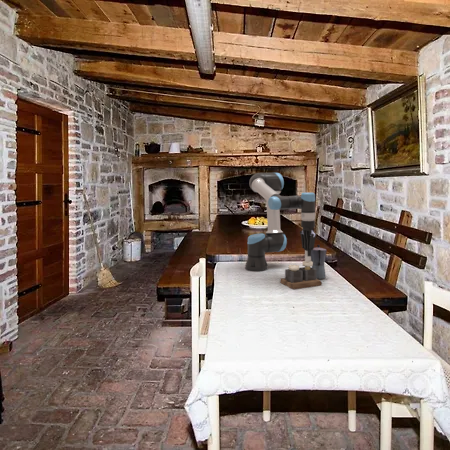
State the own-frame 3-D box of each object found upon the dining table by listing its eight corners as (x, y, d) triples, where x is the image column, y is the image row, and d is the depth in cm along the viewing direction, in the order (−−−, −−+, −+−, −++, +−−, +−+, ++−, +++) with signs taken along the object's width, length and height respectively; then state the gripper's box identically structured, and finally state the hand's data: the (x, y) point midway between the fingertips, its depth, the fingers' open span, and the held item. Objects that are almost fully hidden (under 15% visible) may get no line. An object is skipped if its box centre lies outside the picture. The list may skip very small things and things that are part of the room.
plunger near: (286, 279, 192) (286, 265, 191) (295, 278, 194) (295, 264, 193) (292, 281, 187) (292, 267, 186) (300, 280, 189) (300, 266, 188)
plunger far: (300, 275, 195) (300, 261, 194) (308, 274, 197) (308, 260, 196) (306, 277, 190) (306, 263, 189) (314, 276, 192) (314, 262, 191)
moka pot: (324, 274, 212) (324, 242, 210) (329, 281, 197) (329, 247, 194) (308, 274, 213) (308, 242, 210) (312, 281, 198) (312, 247, 195)
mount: (280, 282, 196) (280, 268, 195) (307, 279, 202) (307, 265, 201) (293, 289, 183) (293, 274, 182) (321, 285, 189) (321, 270, 188)
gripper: (295, 219, 194) (295, 260, 197) (309, 221, 182) (308, 264, 185) (307, 218, 197) (306, 258, 200) (320, 220, 185) (320, 263, 187)
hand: (307, 261), depth 192 cm, fingers closed
